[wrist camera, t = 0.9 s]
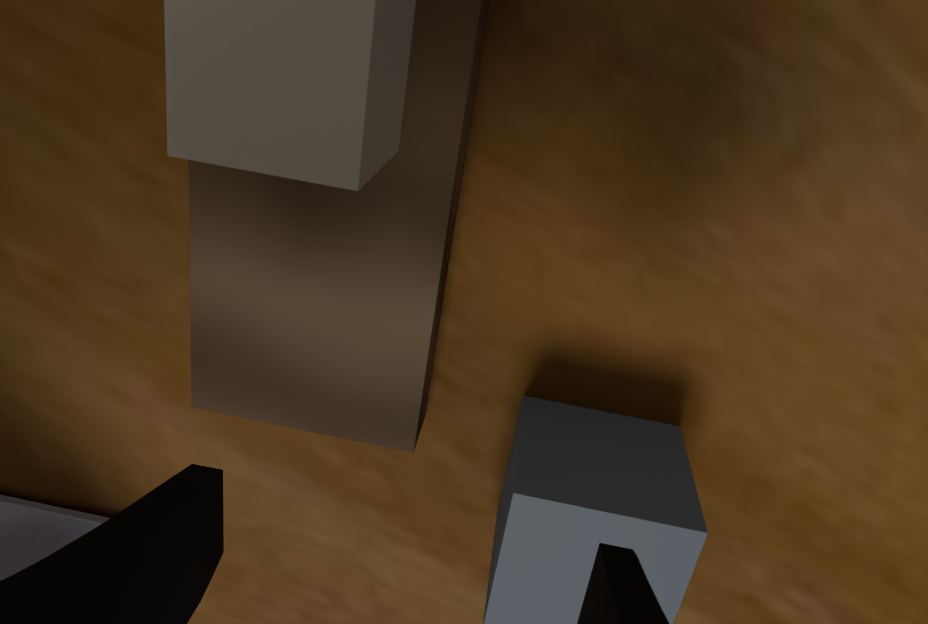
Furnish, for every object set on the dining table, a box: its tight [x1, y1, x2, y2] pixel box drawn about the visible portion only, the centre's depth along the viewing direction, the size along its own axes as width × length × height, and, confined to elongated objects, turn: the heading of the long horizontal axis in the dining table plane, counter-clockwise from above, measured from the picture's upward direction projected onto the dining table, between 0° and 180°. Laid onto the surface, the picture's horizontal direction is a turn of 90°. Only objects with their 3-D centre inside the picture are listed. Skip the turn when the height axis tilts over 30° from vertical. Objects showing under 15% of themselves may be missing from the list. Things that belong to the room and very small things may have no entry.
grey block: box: [164, 0, 416, 191], centre depth 16 cm, size 4×4×4 cm
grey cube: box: [483, 395, 708, 624], centre depth 22 cm, size 5×5×5 cm
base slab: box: [189, 0, 489, 452], centre depth 20 cm, size 14×7×2 cm, turn 171°
